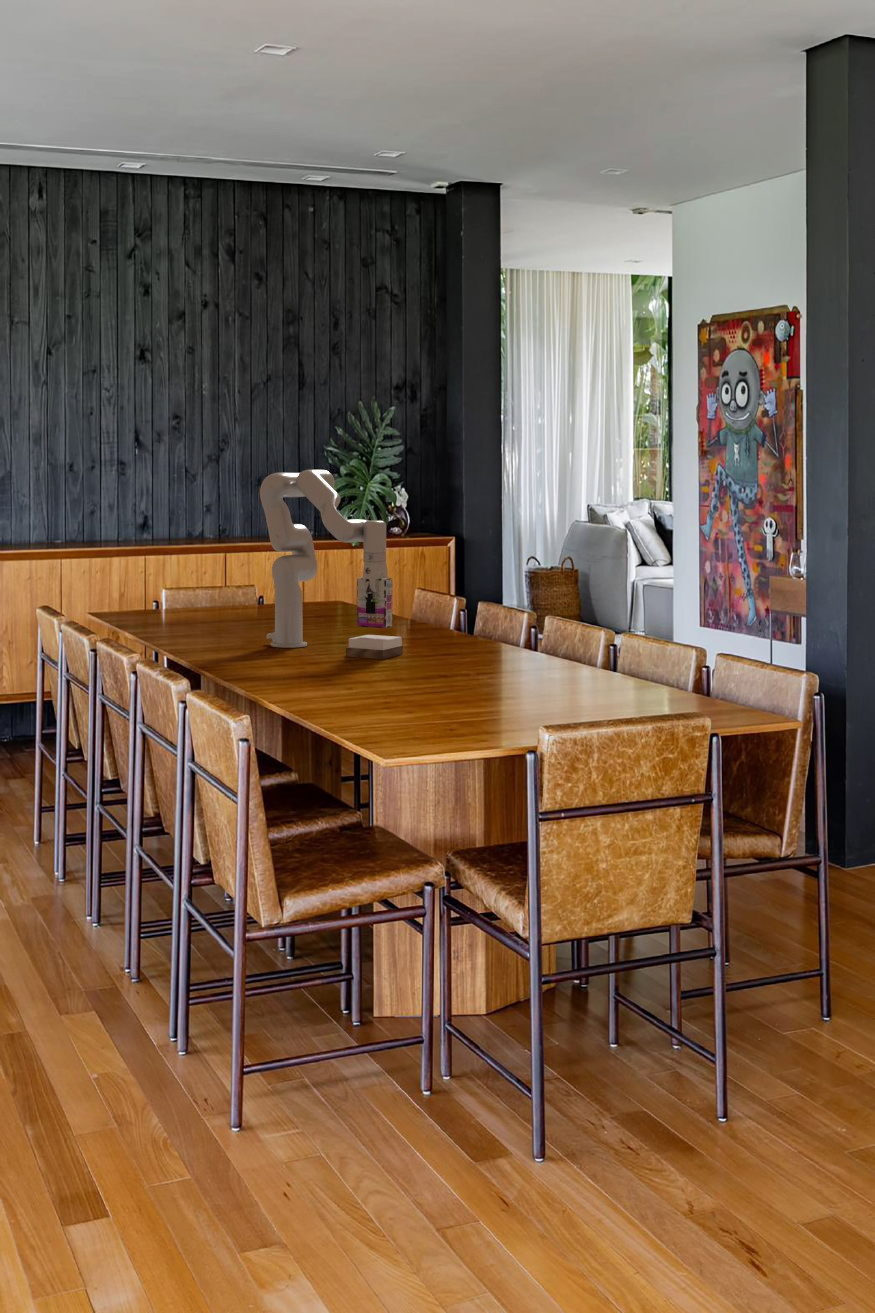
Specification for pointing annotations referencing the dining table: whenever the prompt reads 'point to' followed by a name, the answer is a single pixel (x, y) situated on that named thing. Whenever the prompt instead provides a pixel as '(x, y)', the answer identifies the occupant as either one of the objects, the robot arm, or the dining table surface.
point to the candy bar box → (382, 605)
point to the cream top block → (375, 642)
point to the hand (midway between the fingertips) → (374, 612)
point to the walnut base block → (374, 652)
